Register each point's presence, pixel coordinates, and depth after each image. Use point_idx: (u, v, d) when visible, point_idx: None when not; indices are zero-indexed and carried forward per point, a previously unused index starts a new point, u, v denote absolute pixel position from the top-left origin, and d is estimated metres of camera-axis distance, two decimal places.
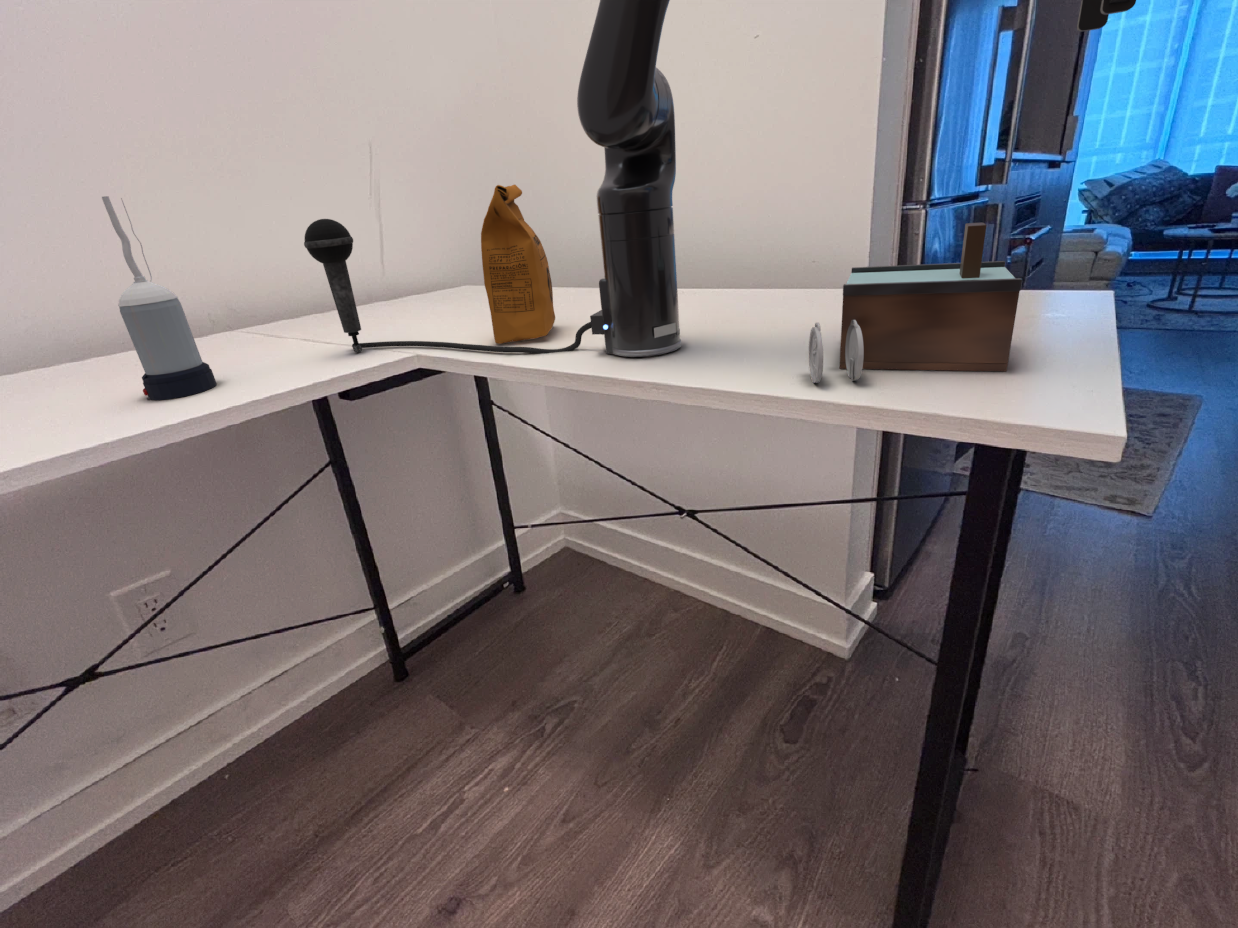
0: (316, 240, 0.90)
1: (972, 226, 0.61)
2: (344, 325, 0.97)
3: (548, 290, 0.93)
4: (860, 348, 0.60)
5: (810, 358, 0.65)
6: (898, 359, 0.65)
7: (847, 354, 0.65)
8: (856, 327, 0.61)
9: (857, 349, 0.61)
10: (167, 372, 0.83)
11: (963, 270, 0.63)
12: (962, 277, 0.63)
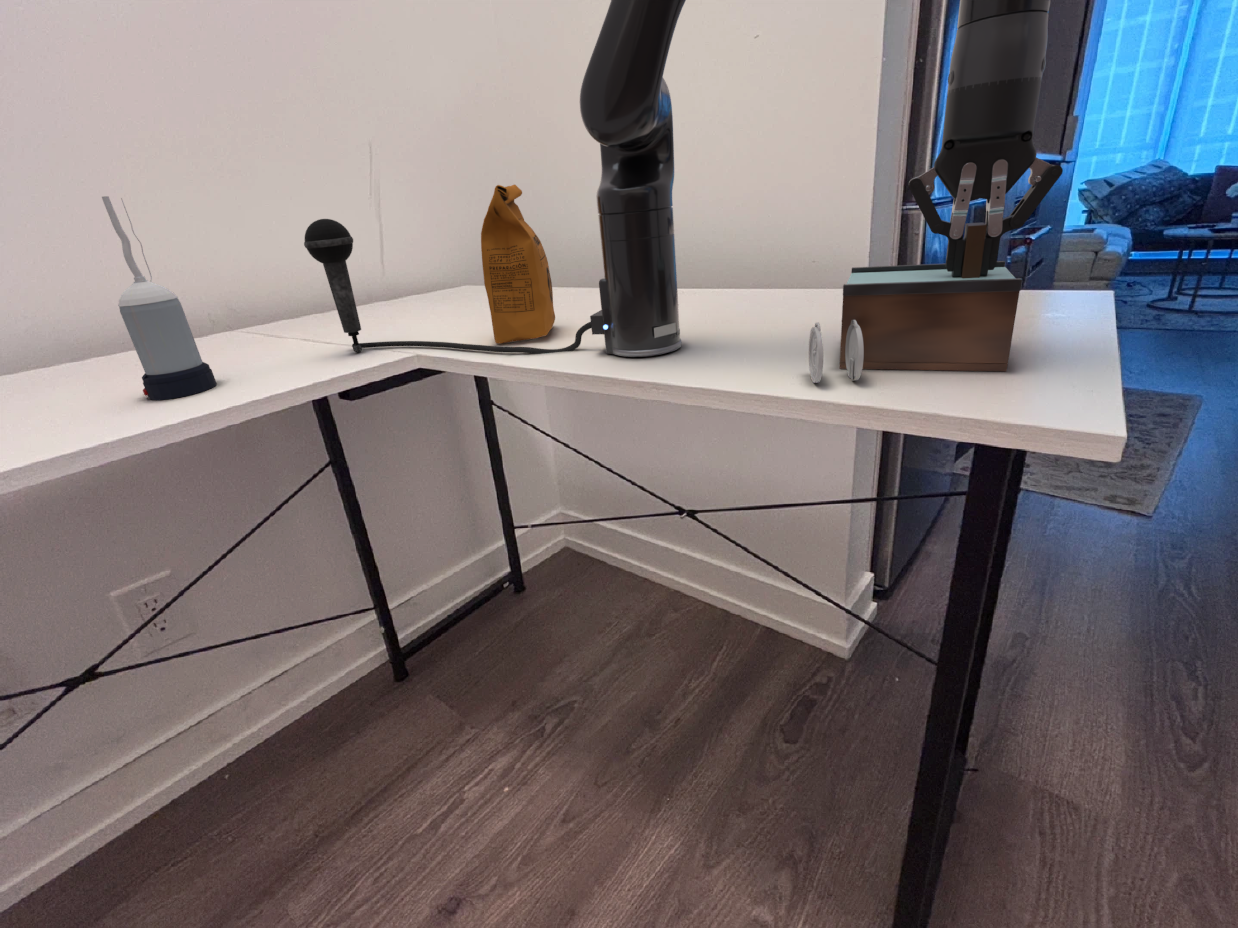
0: (316, 240, 0.90)
1: (972, 226, 0.61)
2: (344, 325, 0.97)
3: (548, 290, 0.93)
4: (860, 348, 0.60)
5: (810, 358, 0.65)
6: (898, 359, 0.65)
7: (847, 354, 0.65)
8: (856, 327, 0.61)
9: (857, 349, 0.61)
10: (167, 372, 0.83)
11: (963, 270, 0.63)
12: (962, 277, 0.63)
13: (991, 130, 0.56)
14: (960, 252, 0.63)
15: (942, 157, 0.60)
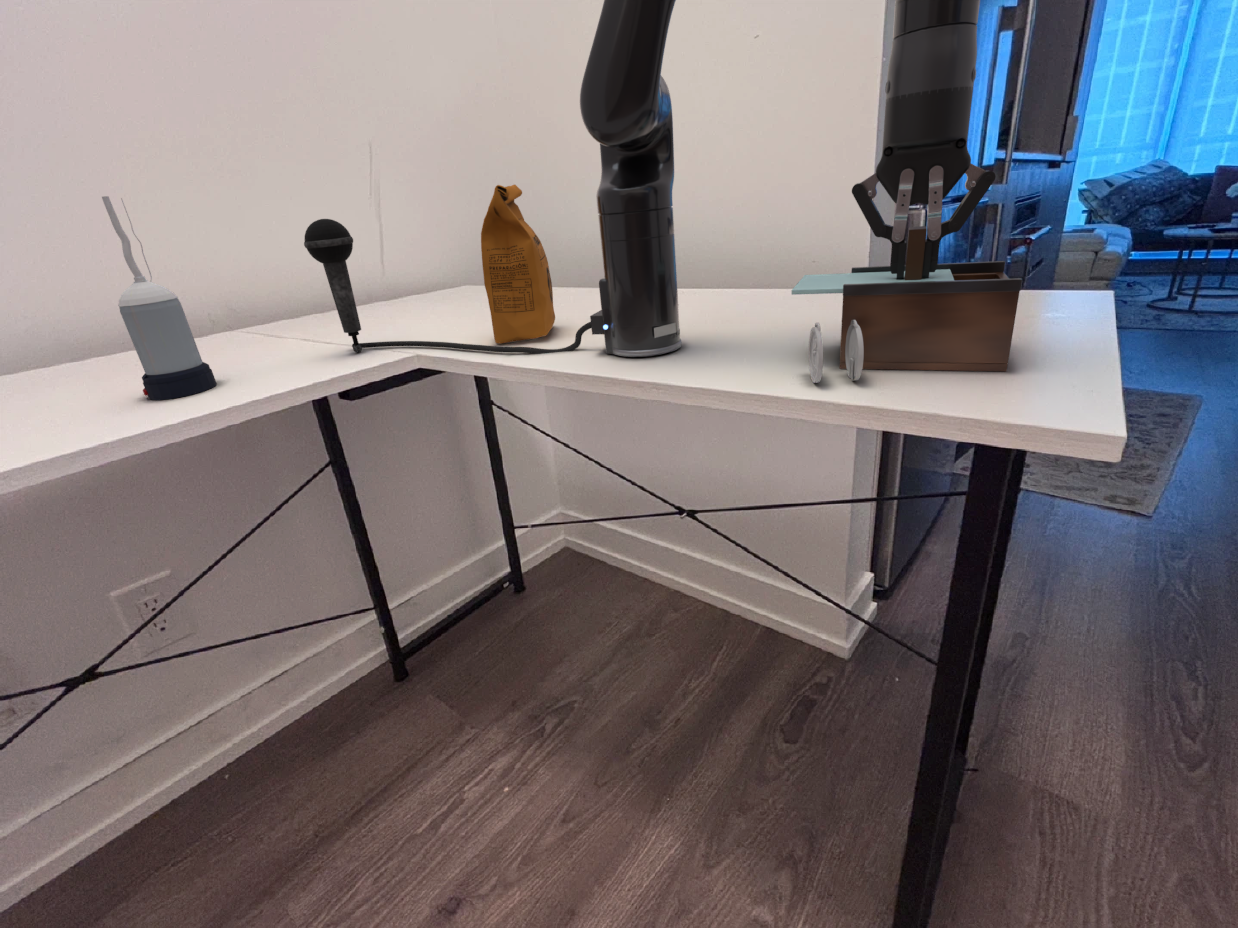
0: (316, 240, 0.90)
1: (913, 230, 0.63)
2: (344, 325, 0.97)
3: (548, 290, 0.93)
4: (860, 348, 0.60)
5: (810, 358, 0.65)
6: (898, 359, 0.65)
7: (847, 354, 0.65)
8: (856, 327, 0.61)
9: (857, 349, 0.61)
10: (167, 372, 0.83)
11: (906, 272, 0.65)
12: (905, 279, 0.65)
13: (924, 138, 0.58)
14: (902, 255, 0.65)
15: (882, 163, 0.62)
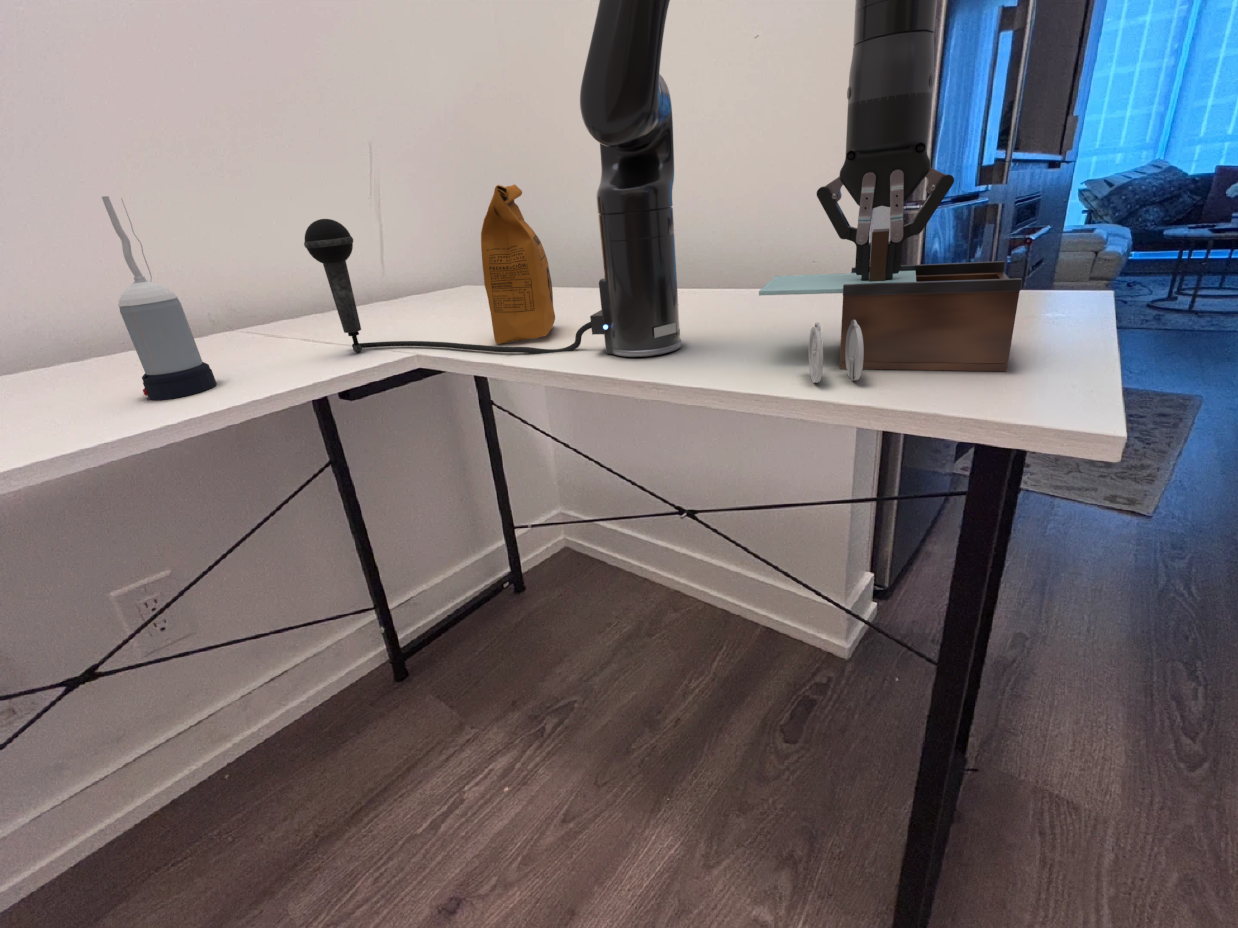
0: (316, 240, 0.90)
1: (876, 232, 0.65)
2: (344, 325, 0.97)
3: (548, 290, 0.93)
4: (860, 348, 0.60)
5: (810, 358, 0.65)
6: (898, 359, 0.65)
7: (847, 354, 0.65)
8: (856, 327, 0.61)
9: (857, 349, 0.61)
10: (167, 372, 0.83)
11: (870, 274, 0.66)
12: (869, 280, 0.67)
13: (884, 142, 0.59)
14: (866, 256, 0.66)
15: (845, 167, 0.64)
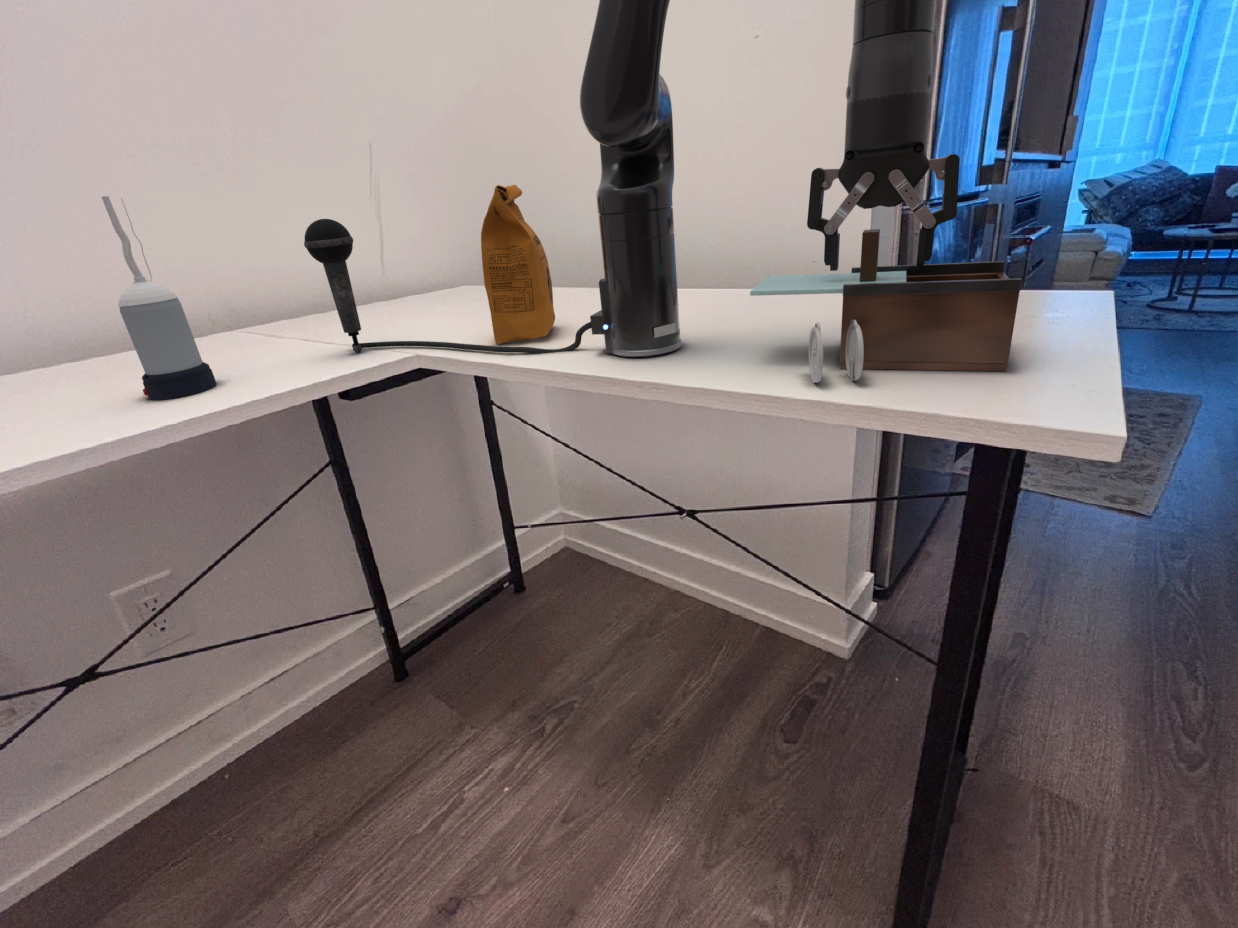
0: (316, 240, 0.90)
1: (866, 233, 0.65)
2: (344, 325, 0.97)
3: (548, 290, 0.93)
4: (860, 348, 0.60)
5: (810, 358, 0.65)
6: (898, 359, 0.65)
7: (847, 354, 0.65)
8: (856, 327, 0.61)
9: (857, 349, 0.61)
10: (167, 372, 0.83)
11: (860, 274, 0.67)
12: (860, 281, 0.67)
13: (882, 142, 0.59)
14: (835, 247, 0.67)
15: (848, 164, 0.63)
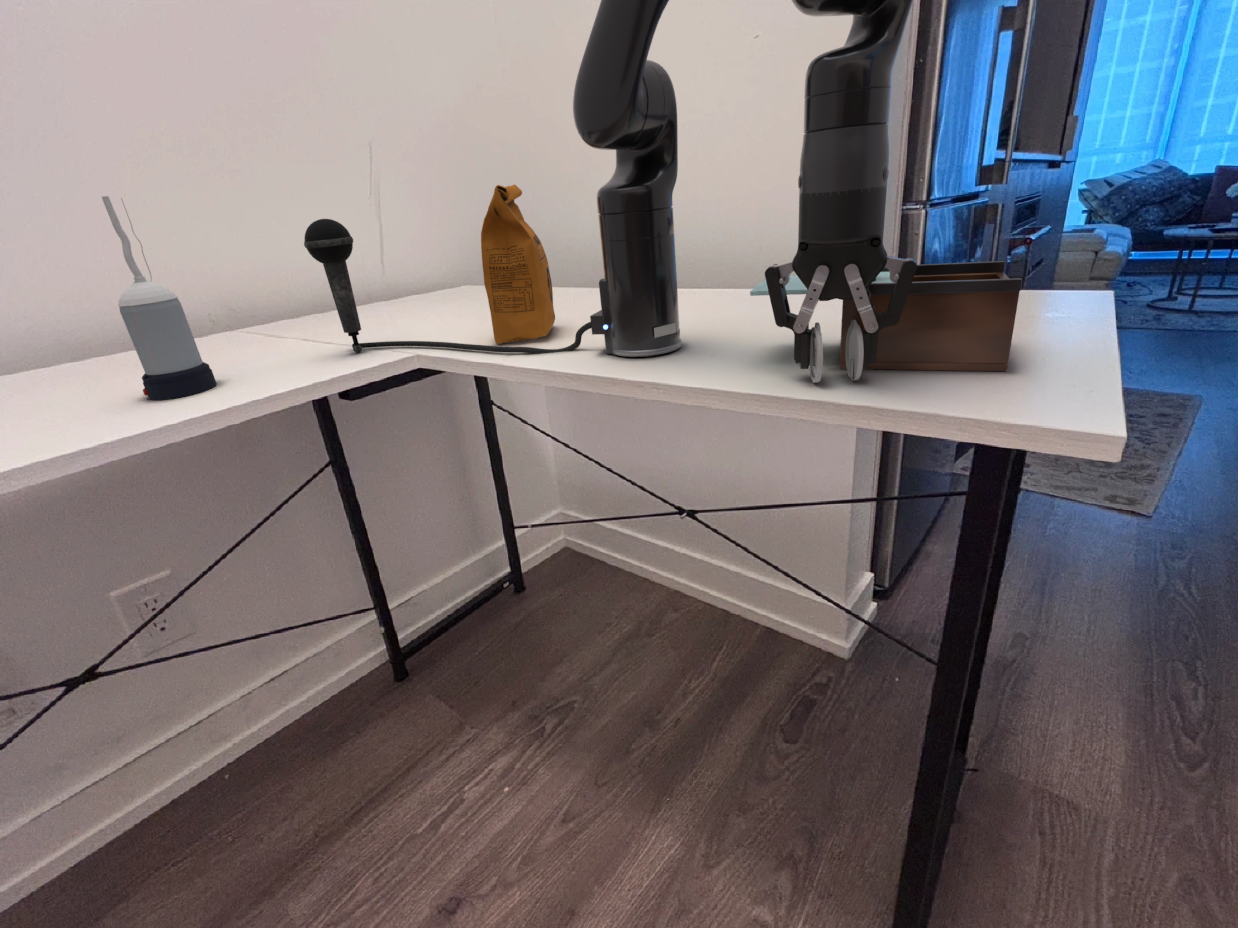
0: (316, 240, 0.90)
1: None
2: (344, 325, 0.97)
3: (548, 290, 0.93)
4: (860, 348, 0.60)
5: (810, 358, 0.65)
6: (898, 359, 0.65)
7: (847, 354, 0.65)
8: (856, 327, 0.61)
9: (857, 349, 0.61)
10: (167, 372, 0.83)
11: None
12: None
13: (836, 238, 0.55)
14: (805, 346, 0.63)
15: (800, 256, 0.59)
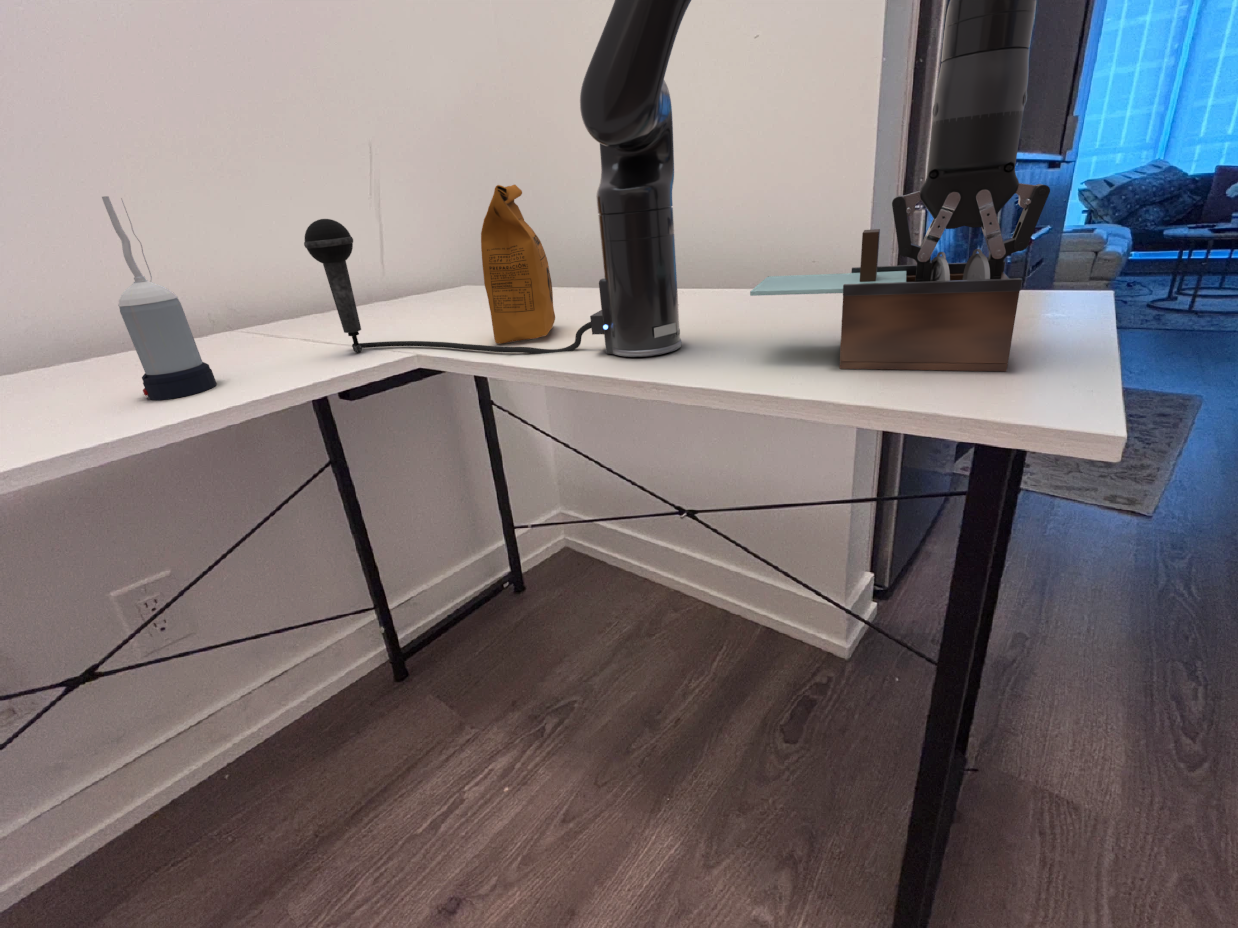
0: (316, 240, 0.90)
1: (866, 233, 0.65)
2: (344, 325, 0.97)
3: (548, 290, 0.93)
4: (986, 274, 0.62)
5: None
6: (898, 359, 0.65)
7: None
8: (981, 255, 0.63)
9: (981, 277, 0.63)
10: (167, 372, 0.83)
11: (860, 274, 0.67)
12: (860, 281, 0.67)
13: (974, 162, 0.57)
14: (928, 275, 0.65)
15: (930, 184, 0.61)
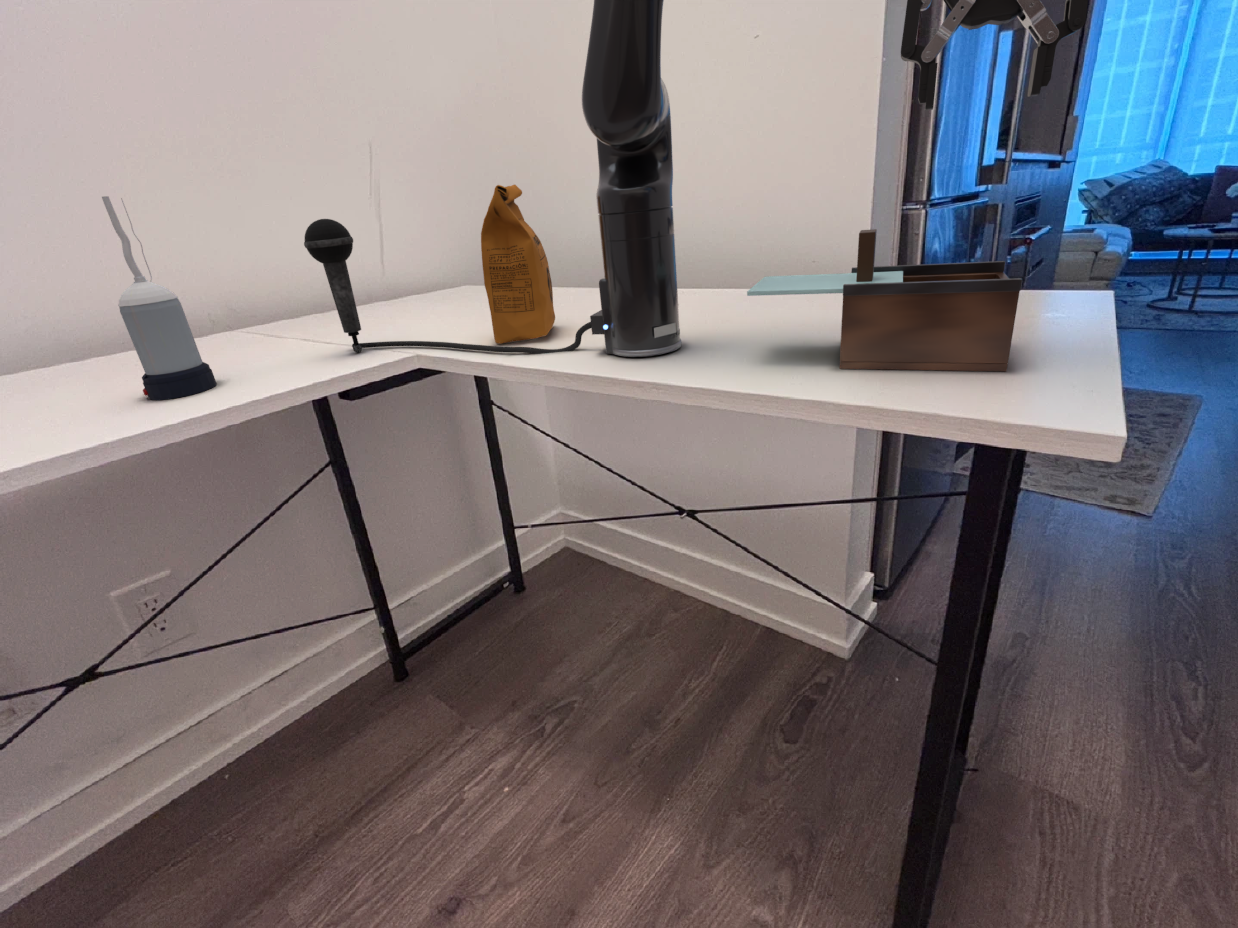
0: (316, 240, 0.90)
1: (863, 233, 0.65)
2: (344, 325, 0.97)
3: (548, 290, 0.93)
4: None
5: None
6: (898, 359, 0.65)
7: None
8: None
9: None
10: (167, 372, 0.83)
11: (857, 274, 0.67)
12: (857, 281, 0.67)
13: None
14: (933, 78, 0.58)
15: None
